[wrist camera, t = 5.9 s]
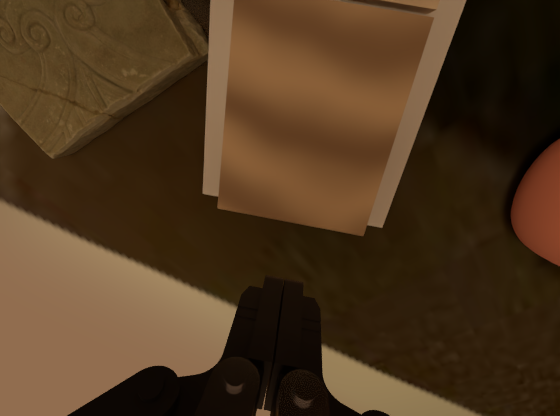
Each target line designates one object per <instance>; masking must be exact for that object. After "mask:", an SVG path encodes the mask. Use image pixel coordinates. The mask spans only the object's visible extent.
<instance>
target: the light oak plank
mask: <svg viewBox="0 0 560 416" xmlns="http://www.w3.org/2000/svg"><path fill="white" fill-rule="evenodd" d="M347 1H353V2H359V3H365V4H370V5H376V6H382V7H388V8H394V9H400V10H406V11H412V12H418V13H423V14H429V13H431V12H433V11H435V10H437V7H438V4H439V1H440V0H347Z"/></svg>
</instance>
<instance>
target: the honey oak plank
mask: <svg viewBox="0 0 560 416" xmlns="http://www.w3.org/2000/svg"><path fill="white" fill-rule="evenodd" d="M433 20H434V17H428V16H422V15H417V14H411V13H405V12H399V11H393V10H387V9H381V8H375V7H370V6H364V5H358V4H352V3H346V2H340V1H334V0H234V6H233V19H232V31H231V44H230V57H229V69H228V82H227V94H226V107H225V119H224V132H223V145H222V157H221V170H220V182H219V195H218V207H217V208H218V209H224V210H229V211H234V212H239V213H245V214H250V215H255V216H260V217H265V218H271V219H276V220H281V221H286V222H292V223H297V224H302V225H307V226H312V227H318V228H323V229H328V230H333V231H339V232H344V233H349V234H354V235H359V236H364V233H365V230H366V227H367V223H368V220H369V217H370V214H371V211H372V208H373V205H374V202H375V199H376V196H377V193H378V190H379V186H380V183H381V180H382V177H383V174H384V171H385V168H386V165H387V162H388V159H389V156H390V153H391V149H392V146H393V143H394V140H395V137H396V134H397V131H398V128H399V125H400V122H401V119H402V116H403V112H404V109H405V106H406V103H407V100H408V97H409V94H410V91H411V88H412V85H413V82H414V79H415V75H416V72H417V69H418V66H419V63H420V60H421V57H422V54H423V51H424V48H425V45H426V42H427V38H428V35H429V32H430V29H431V26H432V23H433Z"/></svg>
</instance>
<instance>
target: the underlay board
mask: <svg viewBox="0 0 560 416" xmlns="http://www.w3.org/2000/svg"><path fill="white" fill-rule="evenodd" d="M334 1H340V2H346V3H352V4H358V5H364V6H370V7H375V8H381V9H387V10H393V11H399V12H405V13H411V14H417V15H422V16H428V17H434V20H433V23H432V26H431V29H430V32H429V35H428V38H427V42H426V45H425V48H424V51H423V54H422V57H421V60H420V63H419V66H418V69H417V72H416V75H415V79H414V82H413V85H412V88H411V91H410V94H409V97H408V100H407V103H406V106H405V109H404V112H403V116H402V119H401V122H400V125H399V128H398V131H397V134H396V137H395V140H394V143H393V146H392V149H391V153H390V156H389V159H388V162H387V165H386V168H385V171H384V174H383V177H382V180H381V183H380V186H379V190H378V193H377V196H376V199H375V202H374V205H373V208H372V211H371V214H370V217H369V220H368V223H367V225H370V226H375V227H381V228H382V227H383V224H384V222H385V219H386V216H387V213H388V211H389V208H390V205H391V203H392V200H393V197H394V194H395V192H396V189H397V186H398V184H399V181H400V178H401V175H402V173H403V170H404V167H405V165H406V162H407V159H408V157H409V154H410V151H411V148H412V146H413V143H414V140H415V138H416V135H417V132H418V129H419V127H420V124H421V121H422V119H423V116H424V113H425V110H426V108H427V105H428V102H429V100H430V97H431V94H432V92H433V89H434V86H435V83H436V81H437V78H438V75H439V73H440V70H441V67H442V64H443V62H444V59H445V56H446V54H447V51H448V48H449V46H450V43H451V40H452V37H453V35H454V32H455V29H456V27H457V24H458V21H459V18H460V16H461V13H462V10H463V8H464V5H465V2H466V0H440V1H439V4H438V7H437V10H435V11H433V12H431V13H429V14H423V13H418V12H412V11H406V10H400V9H394V8H388V7H382V6H376V5H370V4H365V3H359V2H353V1H347V0H334ZM233 6H234V0H211V1H210V26H209V51H208V76H207V101H206V125H205V150H204V175H203V194H207V195H213V196H218V195H219V182H220V170H221V157H222V145H223V132H224V119H225V107H226V94H227V82H228V69H229V57H230V44H231V31H232V19H233Z"/></svg>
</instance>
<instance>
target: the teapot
mask: <svg viewBox="0 0 560 416" xmlns="http://www.w3.org/2000/svg"><path fill="white" fill-rule="evenodd" d="M511 222H512V226H513V229H514V231H515V234H516V235H517V237H518V238H519V240H520V241H521V242H522V243H523V244H524V245H525V246H527V247H528V248H529V249H531V250H532V251H533V252H535V253H536V254H538V255H539V256H541V257H543V258H545V259H546V260H548V261H550V262H552V263H554V264H556V265H558V266H560V139H558V140H557V141H555V142H554V143H552V144H551V145H550V146H549V147H548V148H546V149H545V150H544V151H543V152H542V153H541V154H540V155H539V156H538V157H537V158H536V159H535V161H534V162H533V163H532V165H531V166H530V167H529V169H528V170H527V172H526V173H525V175H524V176H523V178H522V180H521V182H520V184H519V186H518V188H517V191H516V193H515V196H514V199H513V203H512V208H511Z"/></svg>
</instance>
